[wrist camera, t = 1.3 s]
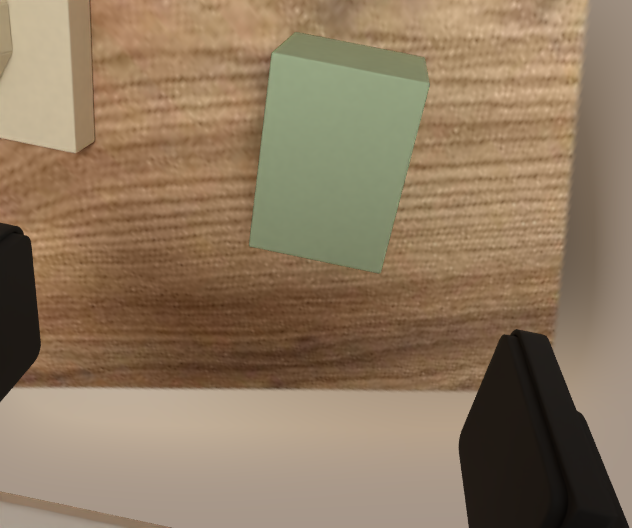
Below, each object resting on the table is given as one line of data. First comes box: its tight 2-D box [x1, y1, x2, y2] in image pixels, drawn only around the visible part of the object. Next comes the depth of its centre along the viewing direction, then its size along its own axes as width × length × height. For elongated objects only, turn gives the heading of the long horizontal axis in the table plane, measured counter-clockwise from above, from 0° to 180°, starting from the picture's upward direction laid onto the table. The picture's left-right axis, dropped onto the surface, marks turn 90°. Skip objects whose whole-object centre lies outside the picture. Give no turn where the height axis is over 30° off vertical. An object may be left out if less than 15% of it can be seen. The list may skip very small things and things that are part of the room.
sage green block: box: [249, 32, 430, 273], centre depth 21 cm, size 5×7×4 cm
